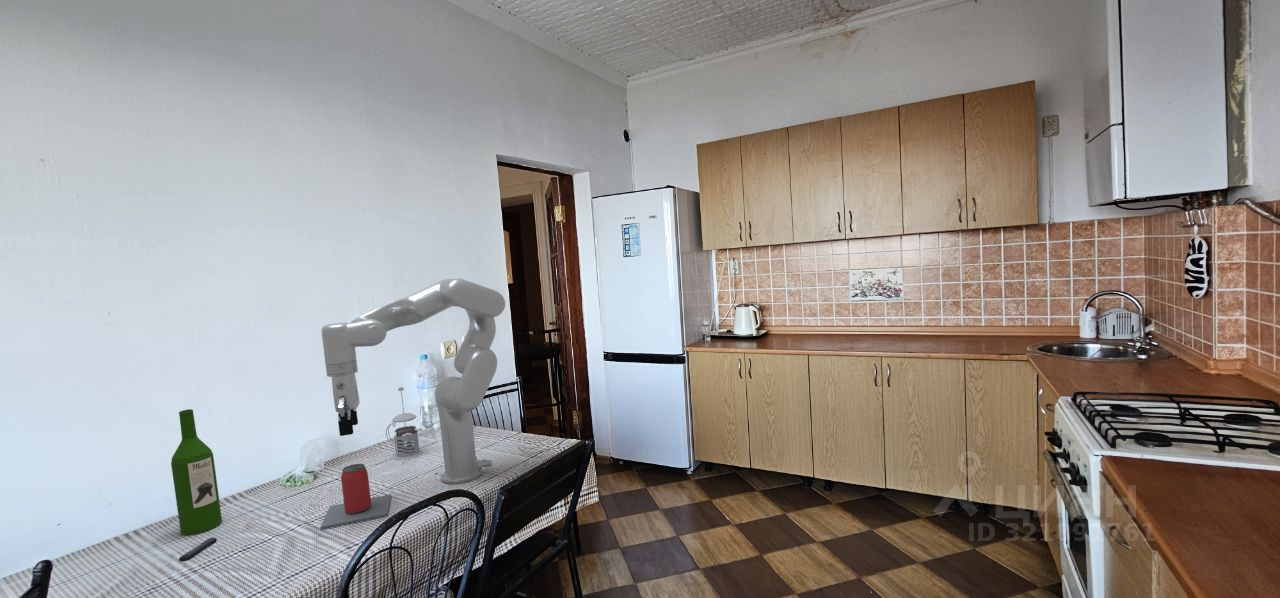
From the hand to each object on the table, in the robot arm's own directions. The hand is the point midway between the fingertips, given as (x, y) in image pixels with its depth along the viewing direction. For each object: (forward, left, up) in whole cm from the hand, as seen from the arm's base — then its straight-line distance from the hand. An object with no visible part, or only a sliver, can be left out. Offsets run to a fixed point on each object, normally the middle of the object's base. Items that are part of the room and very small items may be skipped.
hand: (349, 429), depth 154 cm
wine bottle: (+40, -12, -24) cm, 48 cm away
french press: (-10, -45, -24) cm, 51 cm away
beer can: (0, 0, -23) cm, 23 cm away
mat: (0, 0, -23) cm, 23 cm away
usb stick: (+36, +4, -24) cm, 43 cm away
